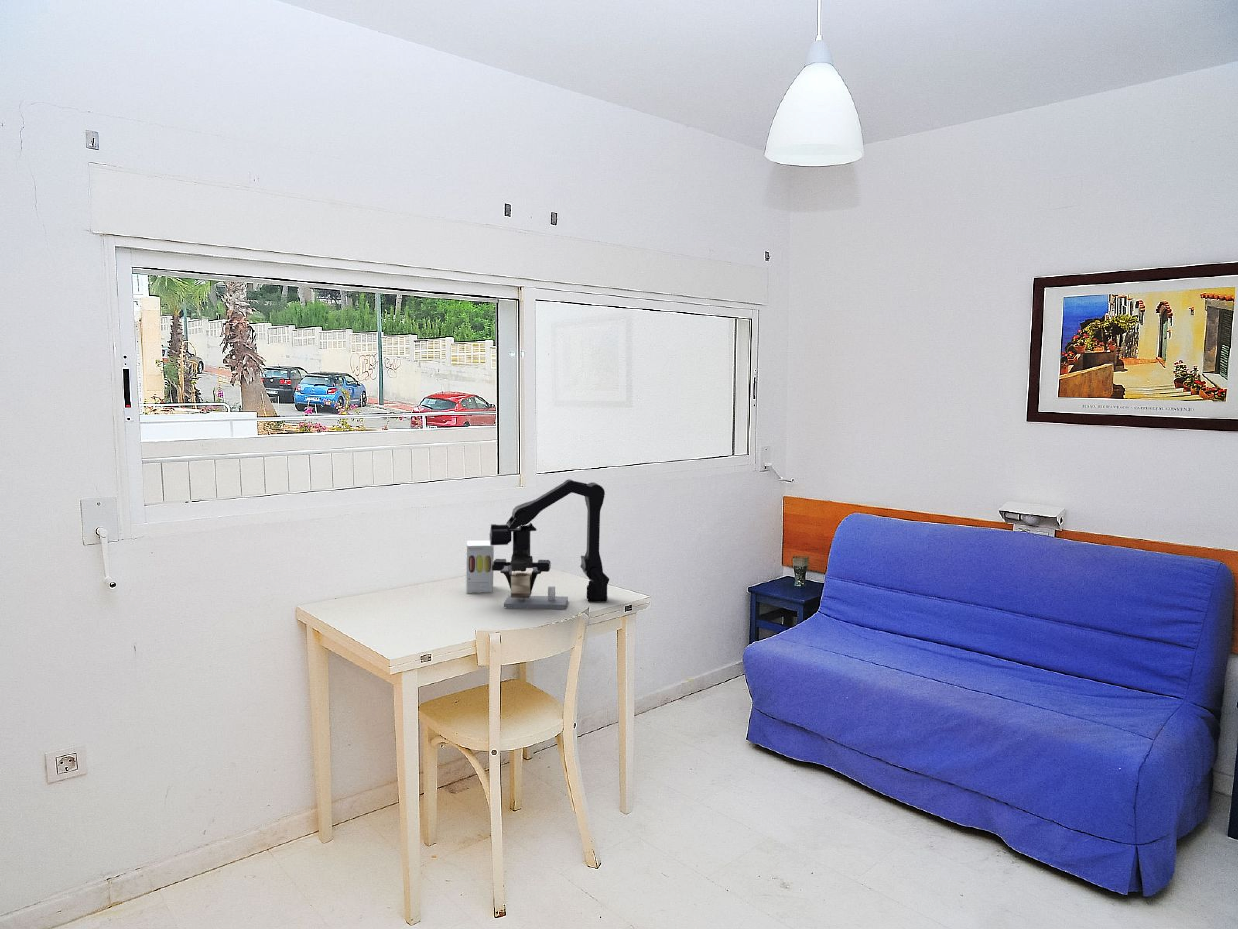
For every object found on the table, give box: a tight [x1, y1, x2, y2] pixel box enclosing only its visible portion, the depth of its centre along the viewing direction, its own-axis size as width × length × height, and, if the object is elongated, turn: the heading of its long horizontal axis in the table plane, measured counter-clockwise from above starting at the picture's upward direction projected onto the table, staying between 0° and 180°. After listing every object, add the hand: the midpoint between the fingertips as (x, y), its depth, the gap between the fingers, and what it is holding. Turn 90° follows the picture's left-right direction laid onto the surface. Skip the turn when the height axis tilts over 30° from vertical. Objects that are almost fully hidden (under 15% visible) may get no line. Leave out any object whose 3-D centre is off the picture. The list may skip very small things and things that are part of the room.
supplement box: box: [465, 540, 495, 594], centre depth 284 cm, size 10×9×17 cm
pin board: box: [503, 585, 569, 610], centre depth 267 cm, size 20×10×6 cm, turn 89°
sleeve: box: [510, 571, 533, 598], centre depth 267 cm, size 6×6×7 cm
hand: (521, 590), depth 267 cm, fingers closed on sleeve, 6 cm apart
